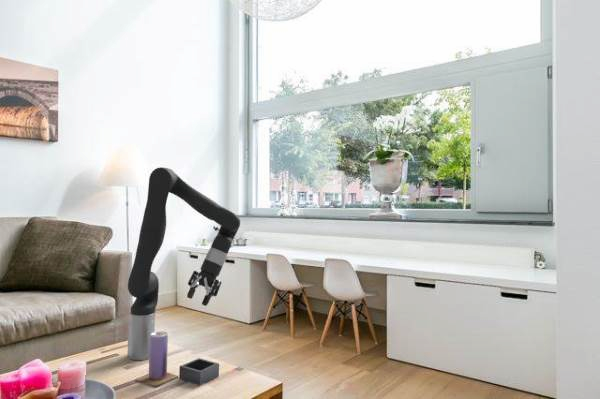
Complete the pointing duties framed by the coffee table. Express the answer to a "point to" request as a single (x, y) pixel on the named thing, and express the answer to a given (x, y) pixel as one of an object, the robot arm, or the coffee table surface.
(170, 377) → the walnut coaster
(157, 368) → the beverage can
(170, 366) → the coffee table surface
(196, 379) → the square socket
